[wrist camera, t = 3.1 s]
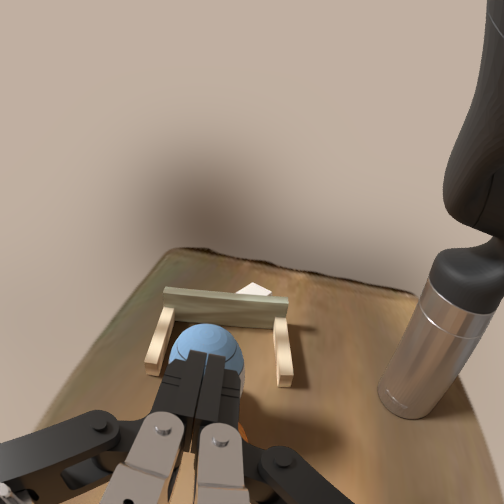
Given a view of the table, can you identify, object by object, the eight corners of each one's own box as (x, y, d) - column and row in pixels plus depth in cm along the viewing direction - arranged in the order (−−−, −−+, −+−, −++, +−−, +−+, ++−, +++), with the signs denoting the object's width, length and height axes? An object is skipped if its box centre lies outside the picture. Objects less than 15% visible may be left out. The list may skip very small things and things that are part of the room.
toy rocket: (209, 381, 37) (244, 293, 30) (265, 440, 32) (326, 365, 25) (141, 412, 30) (153, 321, 23) (199, 485, 24) (243, 426, 17)
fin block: (251, 296, 54) (252, 282, 52) (269, 306, 52) (272, 291, 50) (232, 309, 50) (233, 294, 49) (251, 320, 48) (253, 305, 47)
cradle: (290, 387, 36) (297, 361, 34) (146, 374, 35) (141, 347, 33) (282, 322, 48) (287, 297, 46) (167, 312, 47) (165, 286, 45)
